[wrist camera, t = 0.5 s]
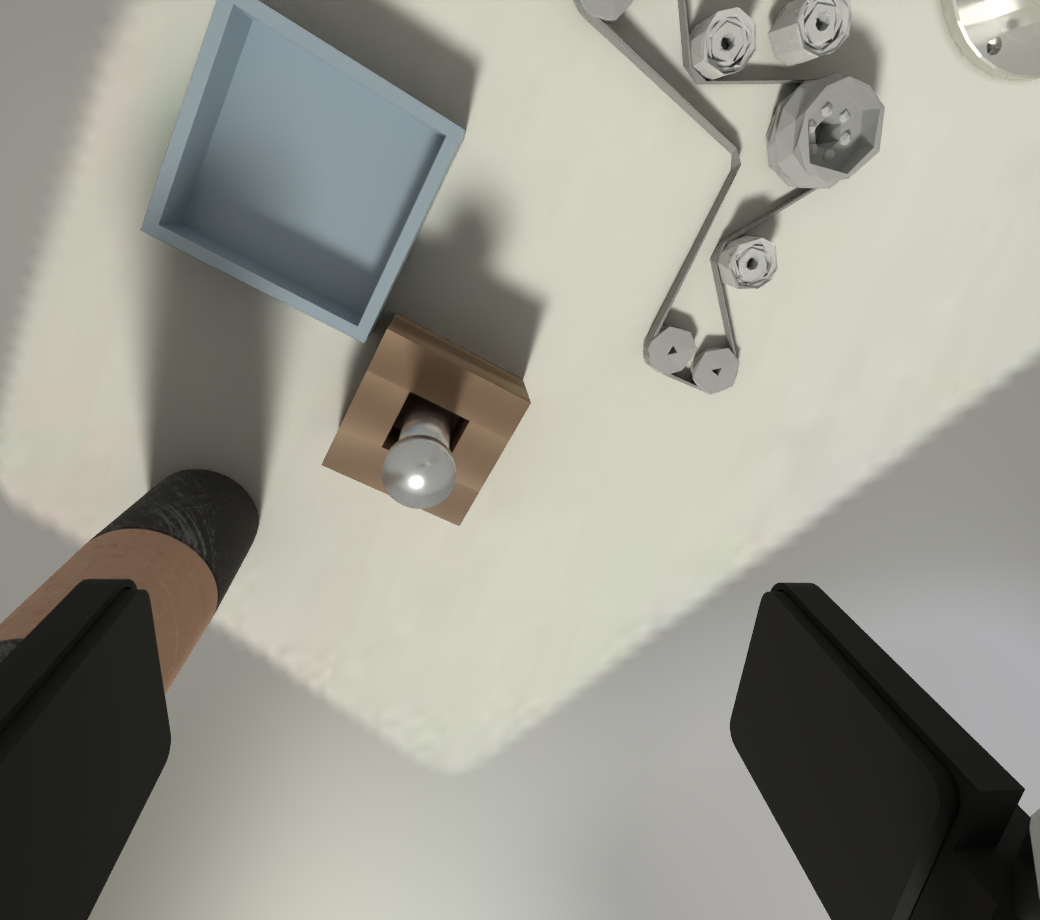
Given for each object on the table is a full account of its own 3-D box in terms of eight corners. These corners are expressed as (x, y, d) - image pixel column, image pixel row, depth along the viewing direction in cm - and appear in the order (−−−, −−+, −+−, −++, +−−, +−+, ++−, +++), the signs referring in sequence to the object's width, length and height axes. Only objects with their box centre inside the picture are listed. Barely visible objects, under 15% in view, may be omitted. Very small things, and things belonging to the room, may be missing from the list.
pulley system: (828, -170, 32) (549, -86, 32) (892, -225, 28) (570, -129, 27) (851, 337, 44) (647, 402, 43) (899, 353, 39) (673, 426, 39)
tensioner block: (396, 313, 38) (386, 328, 34) (523, 380, 41) (530, 403, 36) (337, 435, 41) (321, 464, 36) (459, 491, 43) (459, 526, 39)
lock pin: (415, 375, 39) (401, 429, 30) (467, 401, 40) (468, 461, 31) (391, 423, 40) (369, 490, 31) (441, 447, 41) (435, 519, 32)
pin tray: (247, 1, 32) (223, -22, 29) (464, 136, 35) (464, 129, 32) (169, 227, 36) (140, 230, 32) (372, 331, 39) (364, 343, 35)
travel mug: (119, 500, 42) (-154, 739, 23) (212, 444, 41) (4, 646, 22) (198, 582, 44) (10, 853, 26) (286, 532, 43) (157, 775, 25)
